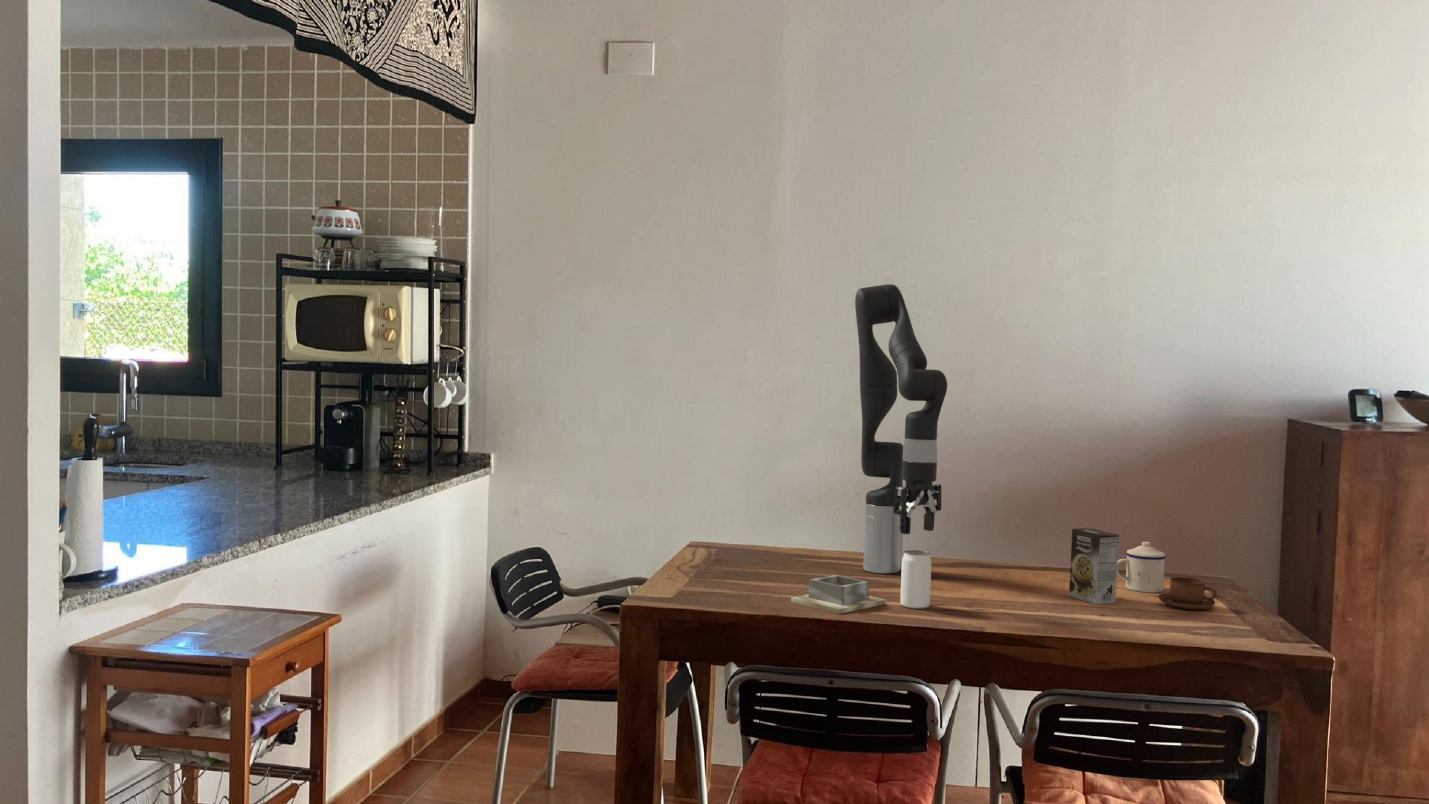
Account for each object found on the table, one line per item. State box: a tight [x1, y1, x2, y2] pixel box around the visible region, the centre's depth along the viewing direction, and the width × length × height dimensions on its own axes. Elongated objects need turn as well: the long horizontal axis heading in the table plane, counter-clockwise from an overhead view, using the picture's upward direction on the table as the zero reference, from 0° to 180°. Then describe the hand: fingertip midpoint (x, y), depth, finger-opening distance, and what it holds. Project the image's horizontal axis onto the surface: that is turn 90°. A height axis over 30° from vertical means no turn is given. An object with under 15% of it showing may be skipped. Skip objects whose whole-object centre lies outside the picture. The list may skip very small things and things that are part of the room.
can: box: [899, 549, 932, 610], centre depth 248 cm, size 6×6×12 cm
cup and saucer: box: [1158, 576, 1217, 611], centre depth 256 cm, size 12×12×6 cm
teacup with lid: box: [1117, 541, 1167, 594], centre depth 274 cm, size 12×9×12 cm
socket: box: [790, 574, 887, 615], centre depth 249 cm, size 16×14×5 cm
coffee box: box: [1068, 527, 1120, 605], centre depth 260 cm, size 9×6×16 cm
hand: (916, 532), depth 248 cm, fingers open, 8 cm apart
